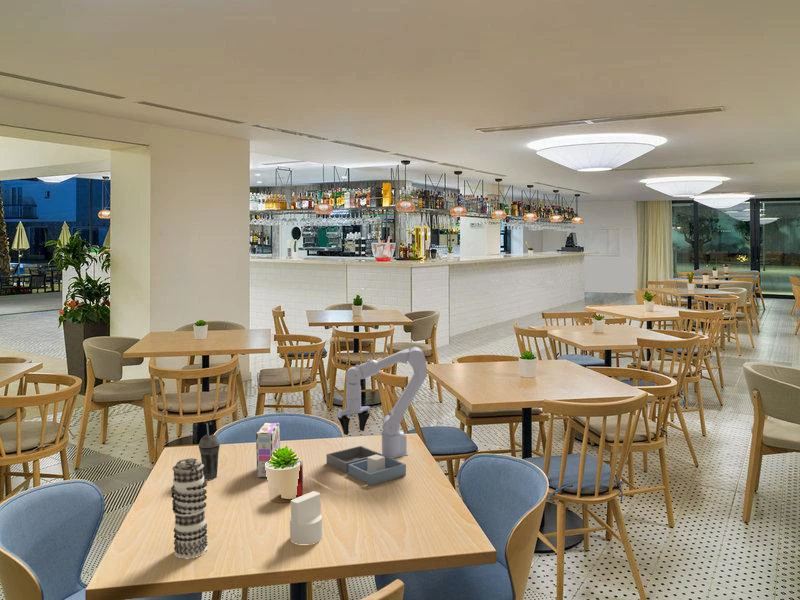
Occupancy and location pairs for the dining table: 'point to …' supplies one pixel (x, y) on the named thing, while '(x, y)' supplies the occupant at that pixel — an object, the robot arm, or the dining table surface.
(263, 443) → the candy box
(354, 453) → the grey bin
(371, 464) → the cream block
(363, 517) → the dining table surface
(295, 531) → the cylinder with rectangular tab
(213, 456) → the beverage cup
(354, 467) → the slate blue bin
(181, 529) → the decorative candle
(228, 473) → the dining table surface
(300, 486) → the canned food
